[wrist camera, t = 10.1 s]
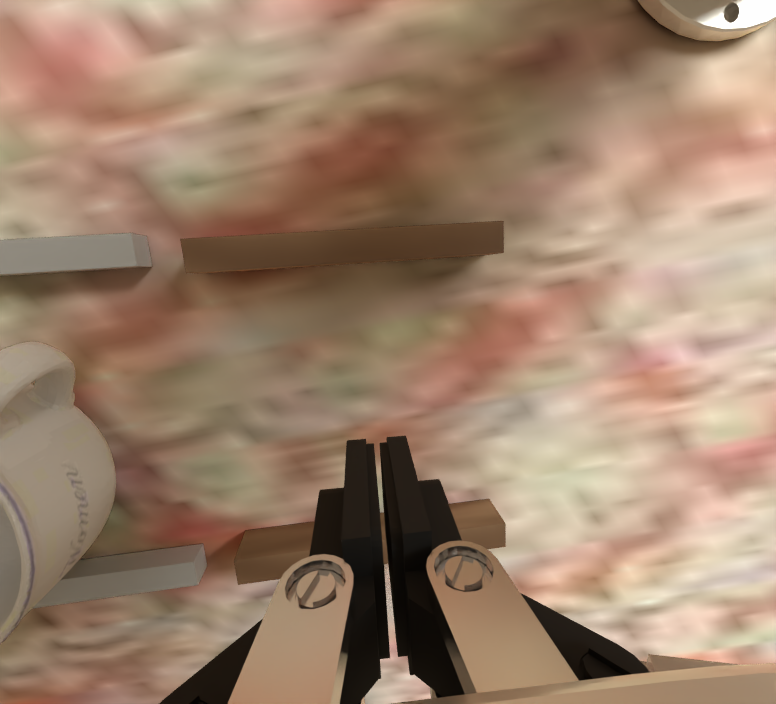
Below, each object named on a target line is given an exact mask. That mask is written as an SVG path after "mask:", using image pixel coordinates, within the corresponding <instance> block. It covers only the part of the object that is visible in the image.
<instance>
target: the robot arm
mask: <svg viewBox="0 0 776 704" xmlns="http://www.w3.org/2000/svg"><path fill="white" fill-rule="evenodd" d="M638 2H639V3H640V5H641V6H642V7H643V9H645V10H646V11H647V12H648V13H649V14H650V15H651V16H652V17H653V18H654V19H655V20H656V21H657V22H658V23H660V24H661V25H663V26H665V27H666V28H668V29H670V30H672V31H673V32H675V33H677V34H679V35H682V36H685V37H689V38H692V39H695V40H701V41H723V40H729V39H734V38H739V37H742V36H744V35H746V34H749V33H751V32H753V31H756V30H758V29H760V28H762V27H763V26H765V25H766V24H768V23H770V22H771V21H773V20H775V19H776V0H638ZM380 456H381V472H382V488H383V504H384V520H385V534H386V545H387V554H388V564H389V574H390V584H391V593H392V603H393V613H394V623H395V633H396V642H397V652H398V657H401V656H408V663H409V671H410V675H414V674H415V675H416V676H417V677H418V678H419V679H421V680H422V681H423V682H424V683H426V684H427V685H428V686H429V687H430V693H431V699H425V700H417V701H409V702H401V703H393V704H776V663H766V664H747V665H738V664H729V663H720V662H712V661H703V660H694V659H685V658H676V657H668V656H659V655H650V654H648V658H647V662H644V661H639V660H638V659H637V658H636V657H635V656H634V655H633V654H631V653H630V652H628V651H627V650H625V649H624V648H622V647H621V646H619V645H618V644H616V643H614V642H612V641H610V640H608V639H606V638H604V637H603V636H601V635H599V634H597V633H595V632H593V631H591V630H589V629H587V628H586V627H584V626H582V625H580V624H578V623H576V622H574V621H572V620H570V619H569V618H567V617H565V616H563V615H561V614H559V613H557V612H555V611H554V610H552V609H550V608H548V607H546V606H544V605H542V604H540V603H538V602H537V601H535V600H533V599H531V598H529V597H527V596H525V595H523V594H521V593H520V592H519V590H518V589H517V587H516V586H515V585H514V583H513V582H512V580H511V579H510V577H509V576H508V574H507V573H506V571H505V570H504V568H503V567H502V565H501V564H500V562H499V561H498V559H497V558H496V557H495V556H494V555H493V554H492V553H491V552H490V551H489V550H487V549H486V548H484V547H483V546H481V545H478V544H475V543H473V542H468V541H462V539H461V536H460V534H459V531H458V528H457V525H456V523H455V520H454V517H453V515H452V512H451V509H450V506H449V504H448V501H447V498H446V496H445V493H444V490H443V487H442V485H441V482H440V480H439V479H436V480H425V481H418V479H417V475H416V471H415V468H414V464H413V460H412V457H411V453H410V449H409V446H408V442H407V438H406V436H396V437H387V442H386V443H380ZM384 658H390V652H389V636H388V621H387V606H386V590H385V575H384V560H383V545H382V531H381V520H380V509H379V497H378V486H377V475H376V464H375V452H374V444H366V439H360V440H348V441H347V446H346V464H345V483H344V488H336V489H325V490H320V492H319V498H318V504H317V510H316V516H315V523H314V529H313V535H312V542H311V548H310V554H309V557H307V558H304V559H302V560H300V561H298V562H297V563H295V564H293V565H292V566H291V567H290V568H289V569H288V570H287V571H286V572H285V573H284V574H283V576H282V577H281V579H280V581H279V582H278V585H277V587H276V589H275V592H274V594H273V597H272V599H271V601H270V604H269V606H268V608H267V611H266V613H265V616H264V618H263V619H262V620H261V621H260V622H258V623H257V624H256V625H255V626H253V627H252V628H251V629H250V630H249V631H247V632H246V633H245V634H244V635H242V636H241V637H240V638H239V639H237V640H236V641H235V642H234V643H233V644H231V645H230V646H229V647H228V648H226V649H225V650H224V651H223V652H221V653H220V654H219V655H218V656H217V657H215V658H214V659H213V660H212V661H210V662H209V663H208V664H207V665H205V666H204V667H203V668H202V669H201V670H199V671H198V672H197V673H196V674H194V675H193V676H192V677H191V678H190V679H188V680H187V681H186V682H185V683H183V684H182V685H181V686H180V687H178V688H177V689H176V690H175V691H174V692H172V693H171V694H170V695H169V696H167V697H166V698H165V699H164V700H163V701H162V702H161V703H160V704H365V699H364V696H365V695H366V694H367V693H368V691H369V690H370V689H371V688H372V686H373V685H374V684H375V683H376V681H377V680H378V679H381V671H380V659H384Z"/></svg>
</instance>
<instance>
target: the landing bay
mask: <svg viewBox="0 0 776 704" xmlns="http://www.w3.org/2000/svg"><path fill="white" fill-rule="evenodd" d="M140 267H152V262H151V256H150V251H149V246H148V240H147V236H144V235H139V234H134V233H119V234H100V235H82V236H63V237H44V238H26V239H7V240H0V276H11V275H27V274H43V273H59V272H75V271H92V270H108V269H124V268H140ZM206 567H207V562H206V557H205V551H204V546H203V544H196V545H189V546H181V547H173V548H166V549H158V550H151V551H143V552H135V553H128V554H120V555H113V556H105V557H97V558H90V559H82V560H79V561H78V562H77V563H76V564H75V565H74V566H73V567H72V568H71V569H70V570H69V571H68V572H67V574H66V575H65V576H64V577H63V578H62V579H61V580H60V581H59V582H58V583H57V584H56V585H55V586H54V587H53V588H52V589H51V590H50V591H49V592H48V593H47V594H46V595H45V596H44V597H43V598H42V599H41V600H40V601H39V602H38V603H37V604H36V605H35V606H34V607H33V608H40V607H47V606H54V605H61V604H68V603H75V602H82V601H89V600H97V599H104V598H111V597H118V596H125V595H132V594H139V593H146V592H153V591H160V590H167V589H174V588H181V587H188V586H196V585H198V584H199V582H200V580H201V578H202V576H203V574H204V571H205V569H206ZM33 608H32V609H33Z"/></svg>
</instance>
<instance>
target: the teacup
mask: <svg viewBox="0 0 776 704" xmlns="http://www.w3.org/2000/svg"><path fill="white" fill-rule="evenodd" d="M34 381H35V384H34V385H32V384H31V383H33V382H34ZM74 381H75V367H74V364H73V362H72V361H71V360H70V359H69V358H68V357H67V356H66V355H65V354H64V353H63V352H61V351H60V350H58V349H56V348H54V347H52V346H50V345H47V344H44V343H40V342H23V343H19V344H15V345H12V346H10V347H7V348H4V349H2V350H0V644H1V643H2V642H3V641H5V640H6V639H7V637H8V636H9V635H10V634H11V633H12V632H13V630H14V629H15V628H16V627H17V625H18V624H19V622H20V620H21V619H22V618H23V617H24V616H25V615H26V614H27V613H28V612H29V611H30V610H31V609H32V608H33V607H34V606H35V605H36V604H37V603H38V602H39V601H40V600H41V599H42V598H43V597H44V596H45V595H46V594H47V593H48V592H49V591H50V590H51V589H52V588H53V587H54V586H55V585H56V584H57V583H58V582H59V581H60V580H61V579H62V578H63V577H64V576H65V575H66V574H67V572H68V571H69V570H70V569H71V568H72V567H73V566H74V565H75V564H76V563H77V562H78V561H79V559H80V558H81V557H82V556H83V555H84V554H85V552H86V551H87V550H88V549H89V548H90V546H91V545H92V544H93V543H94V541H95V540H96V538H97V537H98V535H99V534H100V532H101V531H102V529H103V527H104V526H105V524H106V521H107V519H108V517H109V515H110V512H111V509H112V506H113V503H114V498H115V491H116V472H115V466H114V461H113V457H112V454H111V451H110V449H109V447H108V444H107V442H106V440H105V438H104V437H103V435H102V434H101V432H100V431H99V429H98V428H97V427H96V425H95V424H94V423H93V422H92V421H91V420H90V419H89V418H88V417H87V416H86V415H85V414H84V413H83V412H82V411H81V410H80V409H79V408H77V407H76V406H75V405H74V401H75V393H74V391H73V387H74Z"/></svg>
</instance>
